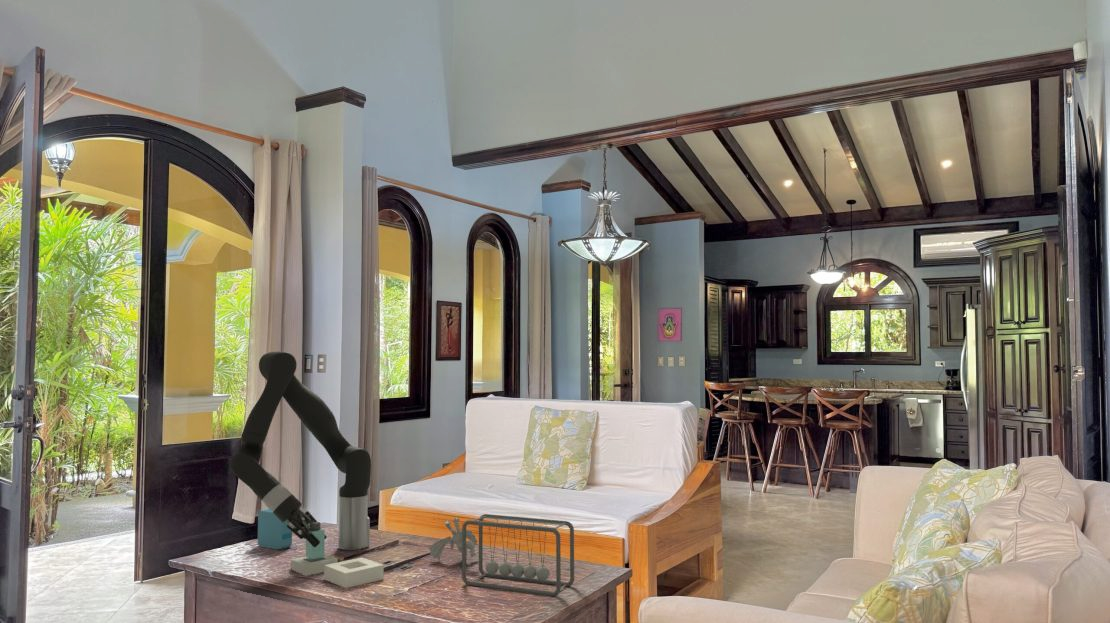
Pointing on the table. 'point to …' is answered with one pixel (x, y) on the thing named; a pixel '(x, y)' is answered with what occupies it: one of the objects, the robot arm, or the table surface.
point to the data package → (273, 531)
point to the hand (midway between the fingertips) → (321, 542)
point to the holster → (311, 564)
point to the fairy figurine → (454, 541)
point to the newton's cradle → (517, 568)
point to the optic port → (353, 572)
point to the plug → (320, 548)
